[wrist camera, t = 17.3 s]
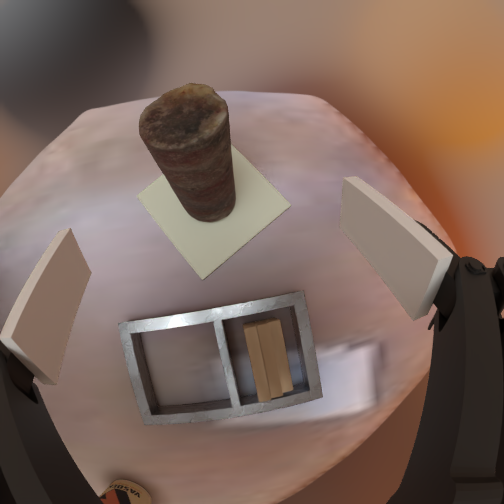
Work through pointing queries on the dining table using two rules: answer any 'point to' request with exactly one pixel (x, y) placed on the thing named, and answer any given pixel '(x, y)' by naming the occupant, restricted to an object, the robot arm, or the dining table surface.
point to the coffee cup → (125, 493)
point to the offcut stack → (268, 358)
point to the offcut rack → (235, 404)
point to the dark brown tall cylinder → (193, 149)
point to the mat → (220, 232)
